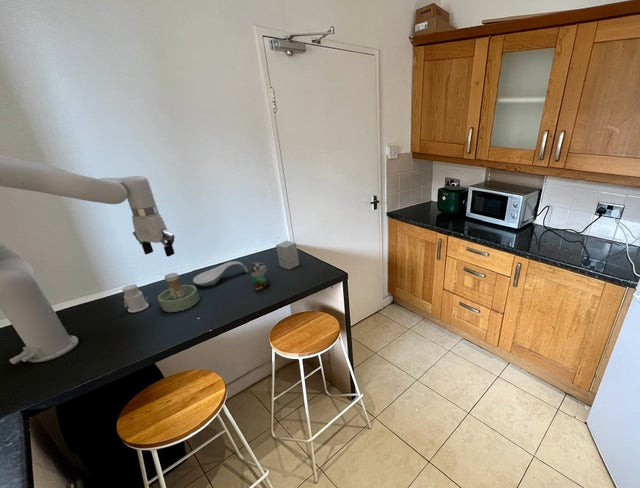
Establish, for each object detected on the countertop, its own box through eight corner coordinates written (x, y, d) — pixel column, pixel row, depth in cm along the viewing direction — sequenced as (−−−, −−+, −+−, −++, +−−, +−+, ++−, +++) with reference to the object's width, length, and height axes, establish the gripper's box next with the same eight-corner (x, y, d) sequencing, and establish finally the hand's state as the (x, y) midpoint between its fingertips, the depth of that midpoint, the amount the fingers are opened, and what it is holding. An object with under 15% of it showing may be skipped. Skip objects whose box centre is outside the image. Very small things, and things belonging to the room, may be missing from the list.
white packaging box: (300, 264, 168) (296, 242, 162) (288, 270, 162) (284, 247, 156) (290, 261, 171) (287, 240, 166) (279, 266, 165) (275, 244, 160)
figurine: (270, 290, 143) (266, 271, 139) (255, 292, 141) (251, 273, 137) (269, 278, 154) (265, 260, 149) (256, 280, 152) (251, 262, 147)
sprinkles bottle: (187, 303, 132) (177, 275, 126) (174, 306, 130) (163, 278, 124) (187, 298, 135) (177, 271, 130) (174, 302, 133) (164, 274, 127)
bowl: (182, 314, 126) (178, 303, 123) (153, 311, 128) (149, 299, 126) (207, 297, 138) (203, 286, 135) (180, 294, 140) (176, 283, 138)
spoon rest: (199, 292, 142) (194, 278, 138) (191, 283, 149) (187, 270, 146) (251, 275, 157) (248, 262, 154) (242, 267, 164) (239, 255, 161)
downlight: (153, 302, 134) (144, 281, 130) (146, 311, 128) (137, 290, 124) (130, 305, 132) (121, 284, 127) (123, 314, 126) (113, 293, 121)
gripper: (115, 212, 113) (132, 256, 120) (156, 215, 110) (171, 259, 117) (134, 207, 119) (149, 248, 127) (174, 210, 117) (186, 252, 124)
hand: (160, 254), depth 122 cm, fingers open, 9 cm apart
